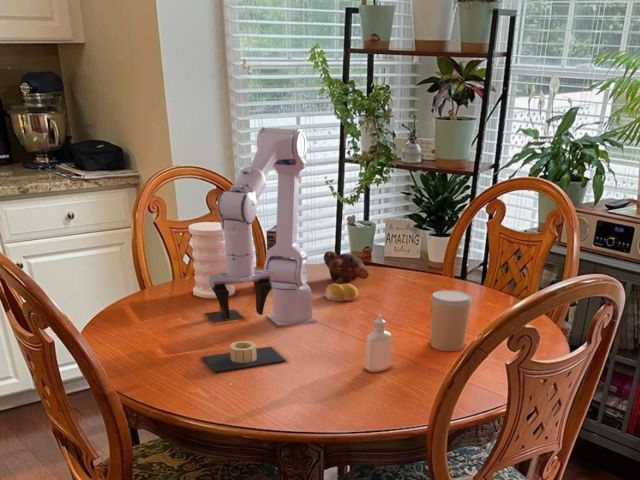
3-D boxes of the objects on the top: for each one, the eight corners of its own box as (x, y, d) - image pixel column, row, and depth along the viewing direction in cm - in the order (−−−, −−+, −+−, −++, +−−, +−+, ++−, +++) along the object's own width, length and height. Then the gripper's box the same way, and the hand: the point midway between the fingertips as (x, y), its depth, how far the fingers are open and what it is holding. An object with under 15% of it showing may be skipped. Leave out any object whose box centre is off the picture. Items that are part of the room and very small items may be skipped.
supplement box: (283, 289, 203) (282, 232, 195) (267, 288, 204) (265, 230, 196) (292, 281, 211) (290, 225, 202) (276, 280, 211) (274, 224, 203)
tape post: (234, 311, 186) (233, 292, 183) (244, 320, 180) (243, 301, 177) (204, 315, 182) (202, 295, 180) (213, 324, 176) (212, 304, 174)
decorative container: (186, 297, 195) (179, 229, 185) (203, 285, 204) (197, 220, 195) (226, 301, 193) (221, 232, 183) (241, 289, 202) (237, 223, 193)
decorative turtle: (328, 273, 219) (331, 246, 215) (373, 283, 215) (377, 256, 211) (314, 279, 212) (317, 251, 208) (361, 289, 207) (364, 262, 203)
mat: (270, 348, 164) (270, 346, 164) (285, 361, 157) (285, 360, 157) (202, 358, 157) (202, 356, 157) (215, 373, 151) (215, 371, 150)
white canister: (444, 335, 174) (448, 286, 168) (474, 346, 169) (480, 296, 163) (419, 344, 169) (422, 294, 163) (449, 355, 163) (454, 304, 157)
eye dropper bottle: (391, 372, 154) (394, 318, 148) (366, 372, 153) (368, 318, 147) (389, 364, 158) (391, 311, 151) (363, 364, 157) (365, 311, 151)
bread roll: (361, 300, 197) (362, 286, 195) (330, 303, 194) (330, 288, 192) (351, 292, 203) (352, 278, 201) (321, 294, 200) (321, 280, 198)
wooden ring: (245, 351, 161) (245, 339, 159) (261, 358, 157) (261, 346, 156) (225, 357, 157) (224, 344, 156) (241, 365, 154) (240, 352, 152)
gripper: (211, 260, 144) (217, 325, 151) (278, 254, 150) (280, 316, 157) (201, 252, 149) (207, 315, 156) (266, 246, 155) (269, 307, 162)
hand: (243, 315), depth 157 cm, fingers open, 7 cm apart
